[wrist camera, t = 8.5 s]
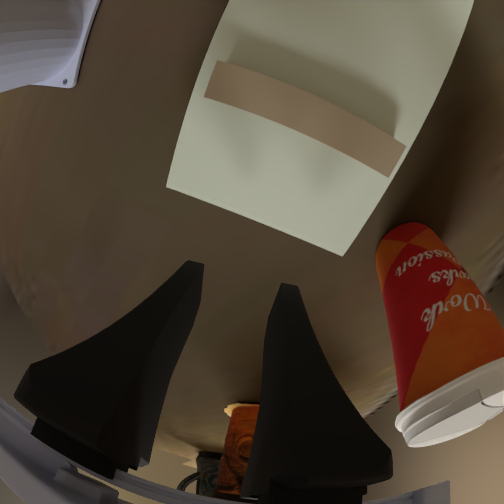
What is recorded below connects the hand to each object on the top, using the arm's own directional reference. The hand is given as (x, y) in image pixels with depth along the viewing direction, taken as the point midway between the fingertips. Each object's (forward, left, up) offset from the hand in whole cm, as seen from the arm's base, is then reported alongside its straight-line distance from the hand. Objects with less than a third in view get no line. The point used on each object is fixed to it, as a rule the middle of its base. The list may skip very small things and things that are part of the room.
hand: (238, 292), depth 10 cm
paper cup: (+12, 0, -10) cm, 15 cm away
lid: (0, +10, -6) cm, 11 cm away
